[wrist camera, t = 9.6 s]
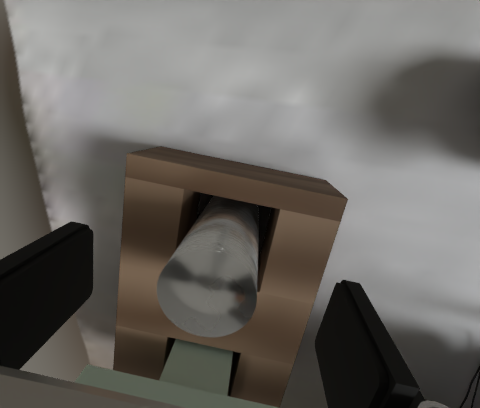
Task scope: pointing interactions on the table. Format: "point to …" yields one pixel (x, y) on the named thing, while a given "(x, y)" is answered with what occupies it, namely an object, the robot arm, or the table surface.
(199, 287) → the peg
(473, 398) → the box
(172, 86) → the table surface
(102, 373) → the button
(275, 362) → the socket block
